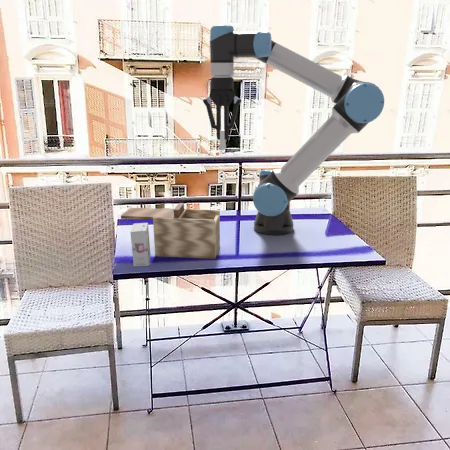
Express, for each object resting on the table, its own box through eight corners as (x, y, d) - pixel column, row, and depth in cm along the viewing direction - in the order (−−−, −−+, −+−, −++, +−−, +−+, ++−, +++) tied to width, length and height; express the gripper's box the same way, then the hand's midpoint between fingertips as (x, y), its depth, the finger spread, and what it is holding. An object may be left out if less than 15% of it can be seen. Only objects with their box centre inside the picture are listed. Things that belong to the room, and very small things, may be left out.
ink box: (135, 256, 151) (133, 222, 148) (150, 255, 152) (148, 221, 148) (132, 266, 143) (130, 231, 140) (148, 266, 144) (146, 230, 140)
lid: (186, 212, 156) (185, 202, 155) (179, 221, 147) (179, 210, 146) (130, 210, 159) (129, 200, 158) (121, 218, 150) (120, 208, 149)
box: (219, 246, 160) (219, 210, 155) (215, 258, 149) (214, 220, 145) (163, 244, 162) (161, 208, 158) (155, 255, 152) (153, 217, 147)
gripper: (242, 76, 153) (242, 147, 161) (204, 76, 155) (205, 147, 162) (241, 76, 146) (240, 151, 154) (200, 77, 148) (202, 150, 155)
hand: (222, 149), depth 158 cm, fingers closed
